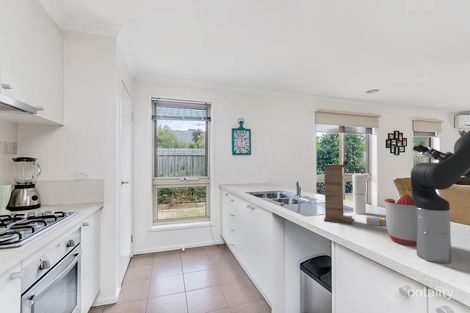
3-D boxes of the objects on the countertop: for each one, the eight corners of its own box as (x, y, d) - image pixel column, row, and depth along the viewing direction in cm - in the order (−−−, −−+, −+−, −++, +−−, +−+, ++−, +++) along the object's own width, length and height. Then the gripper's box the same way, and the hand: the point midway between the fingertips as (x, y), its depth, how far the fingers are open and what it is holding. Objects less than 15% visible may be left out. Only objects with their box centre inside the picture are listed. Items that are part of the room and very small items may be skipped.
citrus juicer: (418, 236, 102) (417, 191, 103) (441, 250, 86) (439, 197, 86) (379, 233, 107) (378, 190, 107) (393, 246, 90) (391, 196, 91)
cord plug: (366, 224, 122) (366, 218, 122) (366, 222, 127) (366, 216, 127) (413, 229, 113) (413, 222, 113) (411, 226, 117) (411, 220, 117)
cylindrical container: (353, 213, 147) (352, 174, 148) (353, 211, 153) (352, 174, 154) (366, 214, 144) (365, 175, 144) (365, 212, 150) (364, 174, 151)
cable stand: (351, 224, 123) (350, 161, 123) (324, 221, 129) (322, 161, 130) (352, 218, 134) (350, 161, 135) (326, 216, 141) (325, 161, 141)
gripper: (454, 156, 109) (416, 141, 115) (467, 156, 96) (424, 138, 103) (444, 170, 110) (407, 153, 117) (455, 171, 98) (414, 153, 104)
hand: (415, 146), depth 110 cm, fingers open, 8 cm apart
